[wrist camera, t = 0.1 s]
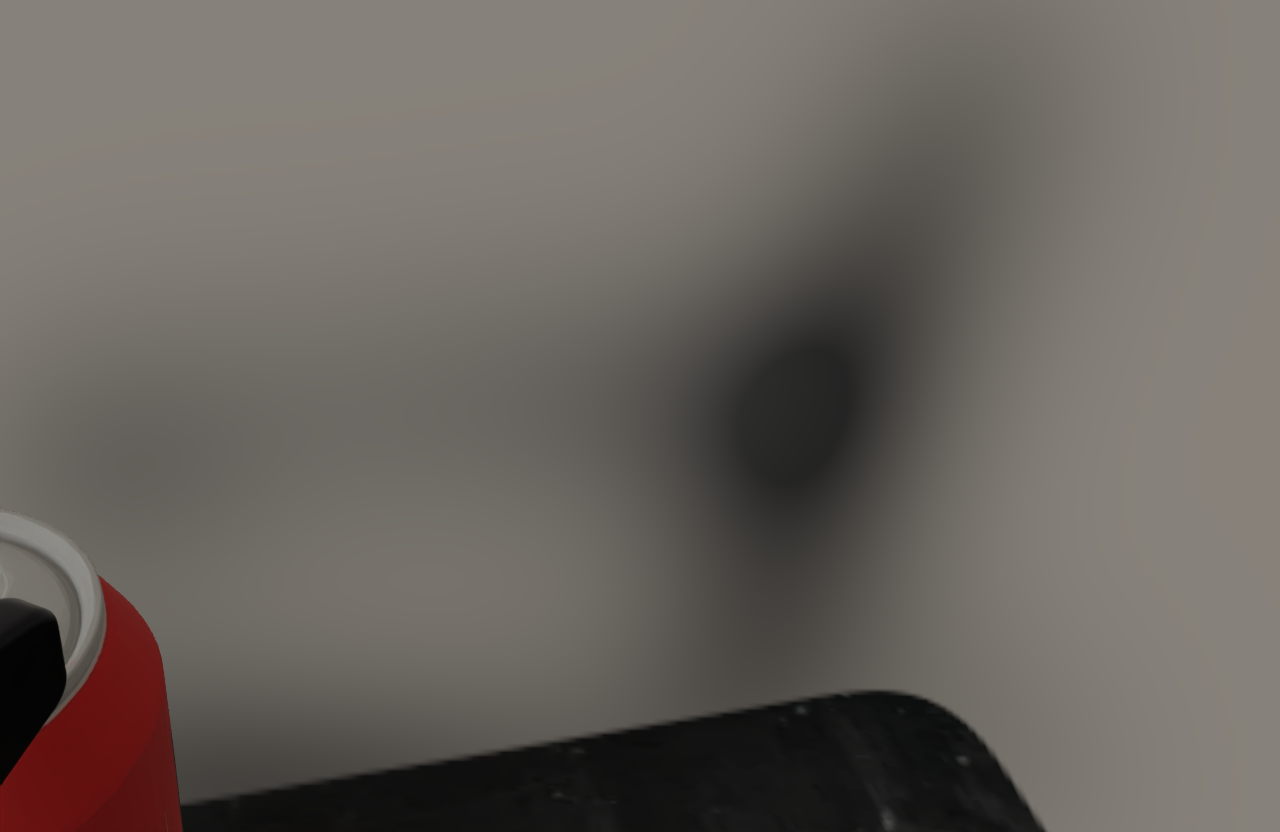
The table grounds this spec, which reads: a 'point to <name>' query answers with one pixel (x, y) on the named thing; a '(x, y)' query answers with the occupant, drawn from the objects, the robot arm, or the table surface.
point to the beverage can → (89, 700)
